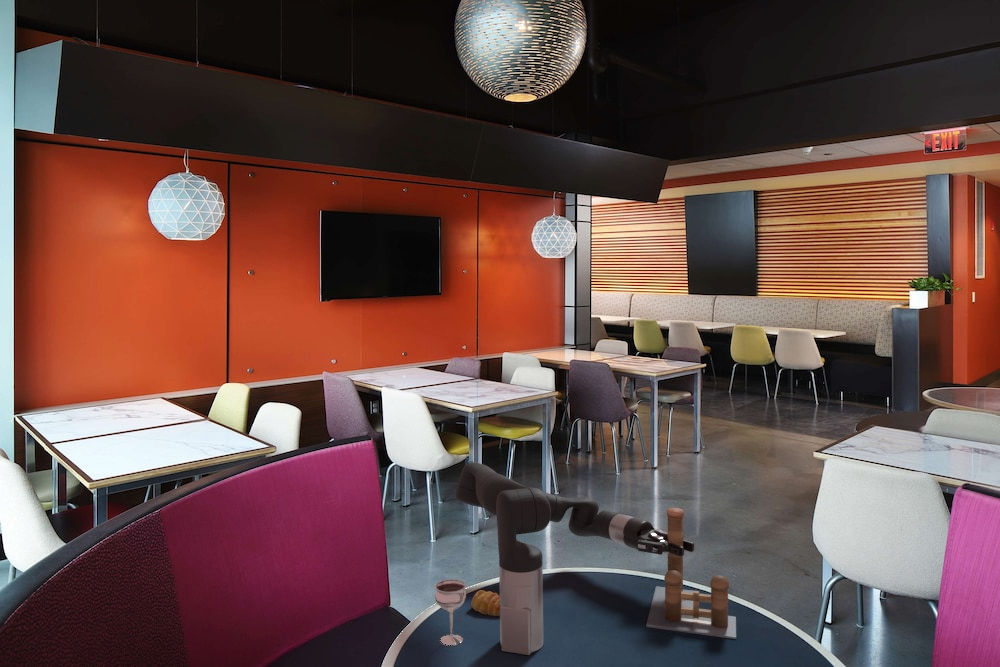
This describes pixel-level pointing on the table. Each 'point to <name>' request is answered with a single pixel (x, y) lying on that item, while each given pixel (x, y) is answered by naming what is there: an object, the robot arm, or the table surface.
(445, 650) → the table surface
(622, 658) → the table surface
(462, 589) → the wineglass
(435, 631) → the table surface
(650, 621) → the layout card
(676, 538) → the wooden fence section
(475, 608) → the pastry
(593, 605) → the table surface
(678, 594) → the fixed fence
